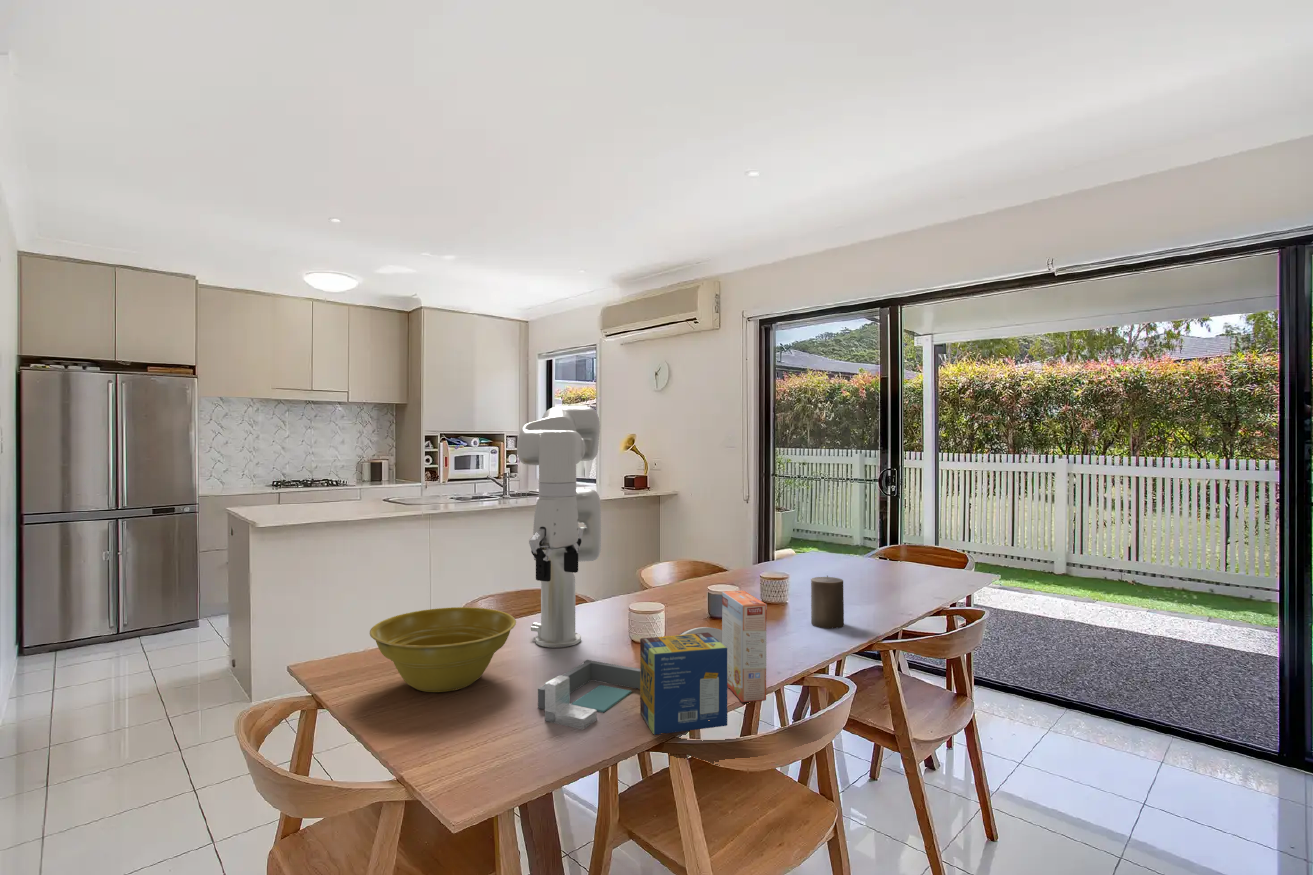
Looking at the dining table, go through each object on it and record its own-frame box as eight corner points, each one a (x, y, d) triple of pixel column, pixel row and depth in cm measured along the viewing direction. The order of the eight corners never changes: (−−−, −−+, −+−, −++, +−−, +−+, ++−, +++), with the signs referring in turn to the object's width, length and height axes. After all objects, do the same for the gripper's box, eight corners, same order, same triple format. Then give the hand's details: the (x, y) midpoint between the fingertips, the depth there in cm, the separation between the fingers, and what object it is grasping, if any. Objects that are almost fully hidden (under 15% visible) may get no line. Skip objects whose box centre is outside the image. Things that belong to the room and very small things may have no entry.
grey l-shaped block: (544, 721, 129) (544, 683, 129) (559, 711, 134) (559, 675, 134) (583, 729, 125) (583, 690, 125) (596, 719, 130) (596, 682, 130)
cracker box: (768, 701, 139) (768, 603, 139) (741, 703, 138) (741, 604, 138) (745, 678, 153) (745, 589, 153) (721, 680, 151) (720, 590, 152)
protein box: (639, 713, 133) (639, 637, 133) (710, 705, 137) (709, 631, 137) (653, 736, 123) (652, 653, 123) (729, 726, 127) (728, 646, 127)
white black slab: (683, 675, 154) (674, 632, 157) (671, 676, 158) (663, 634, 161) (735, 661, 164) (726, 621, 167) (723, 663, 168) (715, 623, 171)
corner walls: (536, 707, 136) (536, 688, 136) (587, 676, 154) (587, 659, 154) (613, 724, 128) (613, 703, 128) (657, 689, 146) (657, 671, 146)
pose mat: (570, 705, 137) (570, 703, 137) (600, 686, 147) (600, 684, 147) (603, 712, 133) (603, 710, 133) (631, 692, 144) (631, 690, 144)
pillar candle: (847, 629, 193) (847, 578, 193) (814, 628, 193) (814, 578, 194) (838, 620, 203) (838, 572, 203) (807, 620, 203) (807, 572, 203)
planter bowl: (544, 673, 156) (544, 617, 156) (437, 722, 129) (437, 654, 129) (450, 651, 173) (450, 600, 173) (338, 691, 145) (338, 630, 145)
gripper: (566, 488, 141) (566, 567, 141) (515, 493, 125) (515, 582, 125) (595, 489, 138) (595, 570, 137) (547, 494, 122) (547, 586, 122)
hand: (557, 576), depth 131 cm, fingers open, 9 cm apart
